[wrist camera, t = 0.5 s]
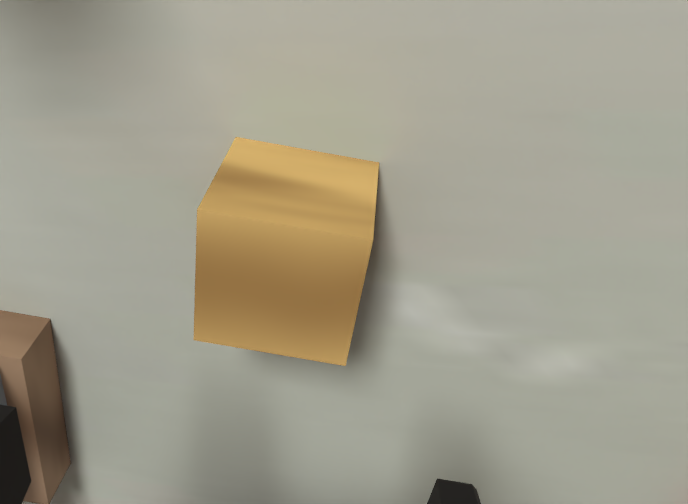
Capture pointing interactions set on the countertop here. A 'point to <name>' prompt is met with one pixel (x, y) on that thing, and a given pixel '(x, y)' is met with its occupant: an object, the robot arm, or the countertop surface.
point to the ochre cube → (284, 250)
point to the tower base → (35, 399)
